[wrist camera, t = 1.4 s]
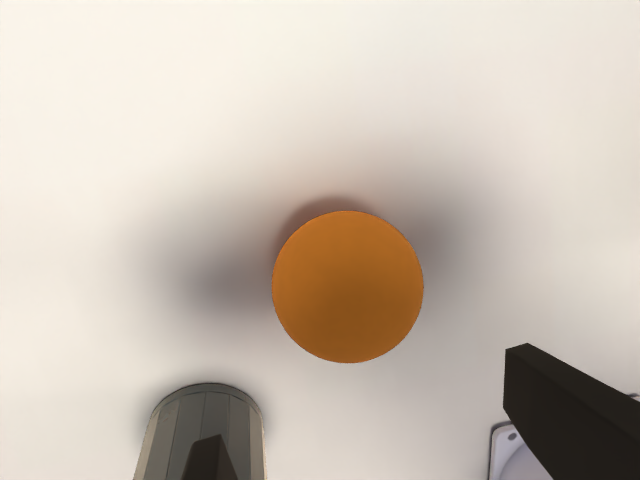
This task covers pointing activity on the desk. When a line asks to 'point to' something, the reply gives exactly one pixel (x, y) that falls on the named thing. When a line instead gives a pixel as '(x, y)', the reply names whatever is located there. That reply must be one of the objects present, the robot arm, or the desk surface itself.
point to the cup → (203, 432)
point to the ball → (347, 286)
